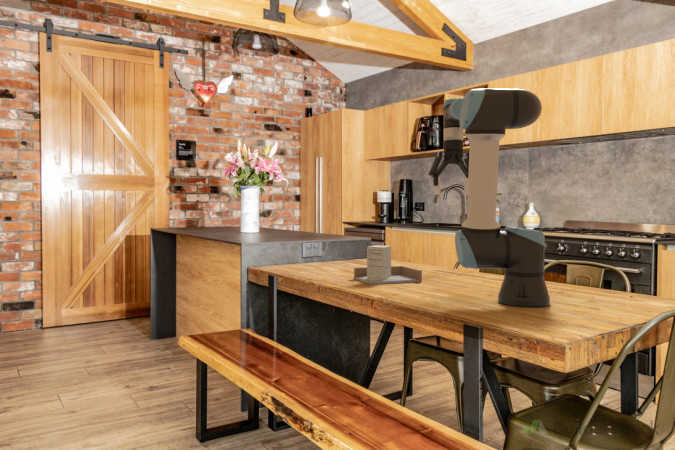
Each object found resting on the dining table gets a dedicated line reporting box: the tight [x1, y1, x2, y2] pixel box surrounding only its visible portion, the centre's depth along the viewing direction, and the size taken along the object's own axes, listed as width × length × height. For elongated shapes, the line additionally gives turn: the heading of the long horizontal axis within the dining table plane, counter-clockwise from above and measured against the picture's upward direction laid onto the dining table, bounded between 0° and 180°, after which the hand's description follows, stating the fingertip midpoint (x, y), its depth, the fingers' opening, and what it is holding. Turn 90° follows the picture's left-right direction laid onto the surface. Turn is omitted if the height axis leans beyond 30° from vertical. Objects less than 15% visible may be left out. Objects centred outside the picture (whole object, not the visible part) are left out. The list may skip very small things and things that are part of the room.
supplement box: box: [366, 245, 392, 280], centre depth 209 cm, size 7×7×13 cm
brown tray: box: [353, 265, 423, 286], centre depth 211 cm, size 16×22×4 cm
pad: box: [362, 277, 395, 281], centre depth 210 cm, size 10×10×1 cm
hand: (452, 194), depth 207 cm, fingers open, 13 cm apart
